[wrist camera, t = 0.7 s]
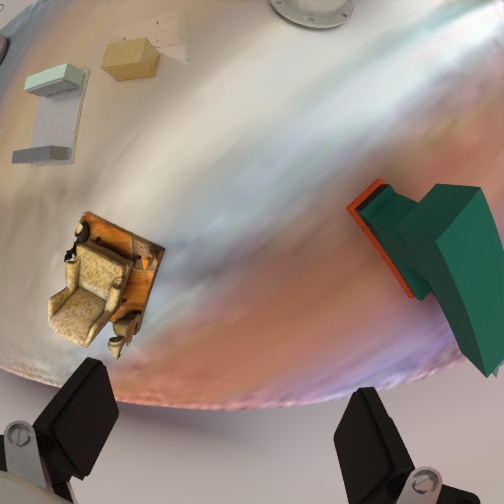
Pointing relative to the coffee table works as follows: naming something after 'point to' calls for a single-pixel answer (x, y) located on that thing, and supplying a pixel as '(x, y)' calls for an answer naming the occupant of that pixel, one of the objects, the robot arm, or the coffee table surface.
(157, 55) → the brass block
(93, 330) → the armchair
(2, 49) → the coffee pot
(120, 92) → the coffee table surface
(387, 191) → the power tool
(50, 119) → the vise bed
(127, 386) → the coffee table surface
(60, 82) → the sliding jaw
